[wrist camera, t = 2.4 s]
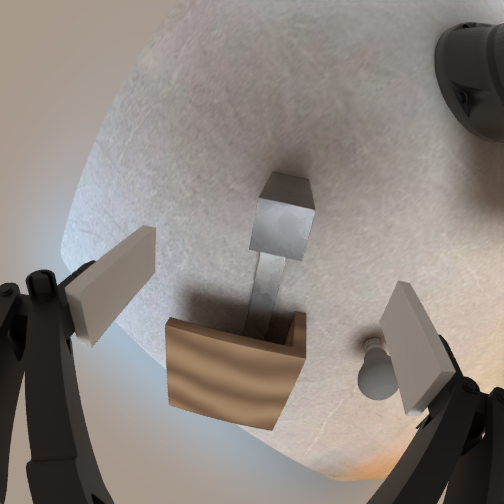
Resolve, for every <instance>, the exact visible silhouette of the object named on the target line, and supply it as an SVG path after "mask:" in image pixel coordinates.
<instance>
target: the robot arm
mask: <svg viewBox="0 0 504 504" xmlns="http://www.w3.org/2000/svg"><path fill="white" fill-rule="evenodd" d="M435 67H436V74H437V79H438V82H439V86H440V89H441V91H442V94H443V96H444V98H445V100H446V102H447V104H448V106H449V108H450V109H451V111H452V112H453V114H454V115H455V117H456V118H457V119H458V120H459V121H460V123H461V124H462V125H463V126H464V127H465V128H466V129H468V130H469V131H470V132H472V133H473V134H474V135H476V136H478V137H480V138H483V139H486V140H490V141H496V142H504V23H503V24H500V25H491V24H483V23H473V22H467V23H461V24H458V25H456V26H454V27H453V28H451V29H449V30H447V31H446V32H445V33H444V34H443V35H442V37H441V38H440V40H439V42H438V45H437V48H436V54H435ZM155 244H156V228H154V227H149V226H145V225H143V226H142V227H140V228H139V229H138V230H136V231H135V232H134V233H132V234H131V235H130V236H128V237H127V238H126V239H124V240H123V241H122V242H120V243H119V244H118V245H117V246H115V247H114V248H113V249H111V250H110V251H109V252H108V253H106V254H105V255H104V256H102V257H101V258H100V259H99V260H97V261H94V260H93V261H90V262H88V263H85V264H83V265H82V266H81V267H80V268H78V269H77V271H75V272H73V273H72V275H70V276H69V277H67V278H66V279H65V280H64V281H62V282H61V283H60V284H59V285H58V286H57V283H56V278H55V274H54V273H53V272H52V271H50V270H38V271H35V272H33V273H31V274H30V275H29V276H27V278H26V284H27V288H28V292H29V295H24V294H20V290H19V287H18V285H17V284H15V283H5V284H2V285H1V286H0V504H4V501H5V496H6V491H7V480H8V463H9V452H10V443H11V435H12V428H13V422H14V416H15V411H16V406H17V401H18V396H19V391H20V387H21V383H22V379H23V375H24V371H25V400H26V415H27V425H28V435H29V442H30V449H31V461H29V462H28V463H27V465H26V472H27V478H28V483H29V488H30V492H31V496H32V500H33V504H114V502H113V500H112V498H111V496H110V494H109V492H108V490H107V489H106V487H105V485H104V482H103V480H102V477H101V474H100V471H99V468H98V466H97V462H96V459H95V456H94V453H93V449H92V445H91V442H90V439H89V435H88V431H87V427H86V423H85V418H84V414H83V410H82V405H81V400H80V395H79V390H78V384H77V378H76V371H75V365H74V357H73V349H72V342H71V338H70V337H71V335H72V334H73V333H74V332H75V333H76V336H77V340H78V342H80V343H82V344H84V345H86V346H89V347H91V348H92V347H93V346H94V345H95V343H96V342H97V341H98V340H99V338H100V337H101V336H102V335H103V333H104V332H105V331H106V330H107V328H108V327H109V326H110V325H111V323H112V322H113V321H114V320H115V319H116V318H117V316H118V315H119V314H120V313H121V312H122V310H123V309H124V308H125V307H126V306H127V305H128V303H129V302H130V301H131V300H132V299H133V297H134V296H135V295H136V294H137V293H138V292H139V290H140V289H141V288H142V287H143V286H144V285H145V284H146V282H147V281H148V280H149V279H150V278H151V277H152V276H153V274H154V273H155ZM379 322H380V325H381V328H382V331H383V334H384V337H385V340H386V344H387V347H388V350H389V354H390V357H391V360H392V364H393V368H394V371H395V375H396V378H397V382H398V386H399V390H400V394H401V398H402V402H403V406H404V410H405V415H420V414H421V413H422V412H423V411H424V410H425V409H426V408H427V407H428V410H429V414H428V416H427V417H426V418H425V419H424V420H423V421H422V422H421V423H420V424H419V425H418V426H417V427H416V429H418V428H419V427H420V428H419V430H418V431H417V433H416V435H415V436H414V438H413V440H412V441H411V443H410V444H409V446H408V448H407V449H406V451H405V452H404V454H403V455H402V457H401V458H400V460H399V461H398V463H397V464H396V466H395V467H394V469H393V470H392V471H391V473H390V474H389V475H388V477H387V478H386V480H385V481H384V482H383V484H382V485H381V486H380V487H379V489H378V490H377V491H376V492H375V494H374V495H373V496H372V498H371V499H370V500H369V501H368V502H367V504H437V502H438V501H439V499H440V497H441V495H442V493H443V491H444V489H445V487H446V485H447V483H448V486H447V490H446V494H445V498H444V502H443V504H504V389H502V388H500V387H496V388H494V389H493V390H492V392H491V393H490V394H486V393H482V392H480V389H479V386H478V385H477V383H476V382H475V381H474V380H472V379H471V378H469V377H465V376H463V374H462V372H461V370H460V368H459V366H458V363H457V361H456V359H455V357H454V355H453V353H452V351H451V349H450V347H449V345H448V343H447V342H446V340H445V339H444V338H443V337H442V336H441V335H438V334H437V332H436V330H435V328H434V326H433V324H432V322H431V320H430V318H429V316H428V315H427V313H426V311H425V309H424V307H423V305H422V304H421V302H420V300H419V298H418V297H417V295H416V293H415V291H414V290H413V288H412V286H411V285H410V283H406V282H402V281H398V282H397V284H396V287H395V289H394V291H393V294H392V296H391V298H390V300H389V302H388V304H387V307H386V309H385V311H384V313H383V315H382V317H381V319H380V321H379ZM484 433H485V435H484V437H483V439H482V435H483V434H484ZM448 481H449V482H448Z"/></svg>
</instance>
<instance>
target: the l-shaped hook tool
mask: <svg viewBox="0 0 504 504" xmlns="http://www.w3.org/2000/svg"><path fill="white" fill-rule="evenodd" d="M314 214H315V206H314V201H313V196H312V191H311V187H310V182H309V180H308V179H304V178H300V177H295V176H291V175H286V174H282V173H277V172H272V174H271V176H270V178H269V180H268V181H267V183H266V185H265V187H264V189H263V191H262V192H261V194H260V196H259V198H258V204H257V209H256V214H255V220H254V225H253V230H252V236H251V241H250V247H249V250H254V251H258V252H261V253H260V258H259V263H258V268H257V273H256V277H255V282H254V287H253V292H252V297H251V301H250V306H249V311H248V316H247V320H246V325H245V330H244V335H243V336H244V337H248V338H252V339H257V340H261V341H265V338H266V334H267V330H268V327H269V323H270V320H271V316H272V312H273V308H274V305H275V301H276V297H277V293H278V290H279V286H280V282H281V278H282V274H283V270H284V266H285V262H286V258H290V259H294V260H299V261H302V259H303V255H304V252H305V248H306V244H307V241H308V237H309V233H310V229H311V225H312V222H313V218H314Z"/></svg>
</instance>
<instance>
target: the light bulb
mask: <svg viewBox="0 0 504 504" xmlns="http://www.w3.org/2000/svg"><path fill="white" fill-rule="evenodd" d="M364 349H365V357H364V363H363V365H362V367H361V369H360V371H359V374H358V386H359V389H360V391H361V392H362V393H363V394H364V395H365V396H366V397H368V398H370V399H373V400H384V399H387V398H389V397H390V396H392V395H393V394H394V393H395V392H396V391H397V390H398V388H399V386H398V382H397V378H396V375H395V371H394V368H393V364H392V360H391V357H390V356H388V355H387V353H386V352H385V350H384V349H382V345H381V342H380V340H379V339H377V338H372V339H369V340H368V341H366V343H365V344H364Z"/></svg>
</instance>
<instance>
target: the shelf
mask: <svg viewBox="0 0 504 504" xmlns="http://www.w3.org/2000/svg"><path fill="white" fill-rule="evenodd" d="M165 338H166V366H167V384H168V397H169V405H171V406H173V407H177V408H180V409H183V410H186V411H190V412H193V413H196V414H200V415H204V416H207V417H211V418H215V419H219V420H223V421H227V422H231V423H236V424H240V425H245V426H249V427H254V428H260V429H265V430H271V431H272V430H273V428H274V426H275V424H276V422H277V420H278V418H279V416H280V414H281V412H282V410H283V408H284V406H285V404H286V402H287V400H288V398H289V395H290V393H291V391H292V389H293V387H294V385H295V383H296V380H297V378H298V376H299V374H300V371H301V369H302V367H303V365H304V362H305V360H306V313H301V312H296V311H295V314H294V317H293V320H292V323H291V326H290V329H289V332H288V335H287V338H286V341H285V344H284V345H280V344H275V343H271V342H266V341H261V340H257V339H252V338H248V337H244V336H240V335H235V334H231V333H227V332H223V331H219V330H215V329H211V328H208V327H204V326H200V325H196V324H193V323H189V322H185V321H182V320H178V319H175V318H171V317H170V318H169V320H168V321H167V323H166V324H165Z"/></svg>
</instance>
